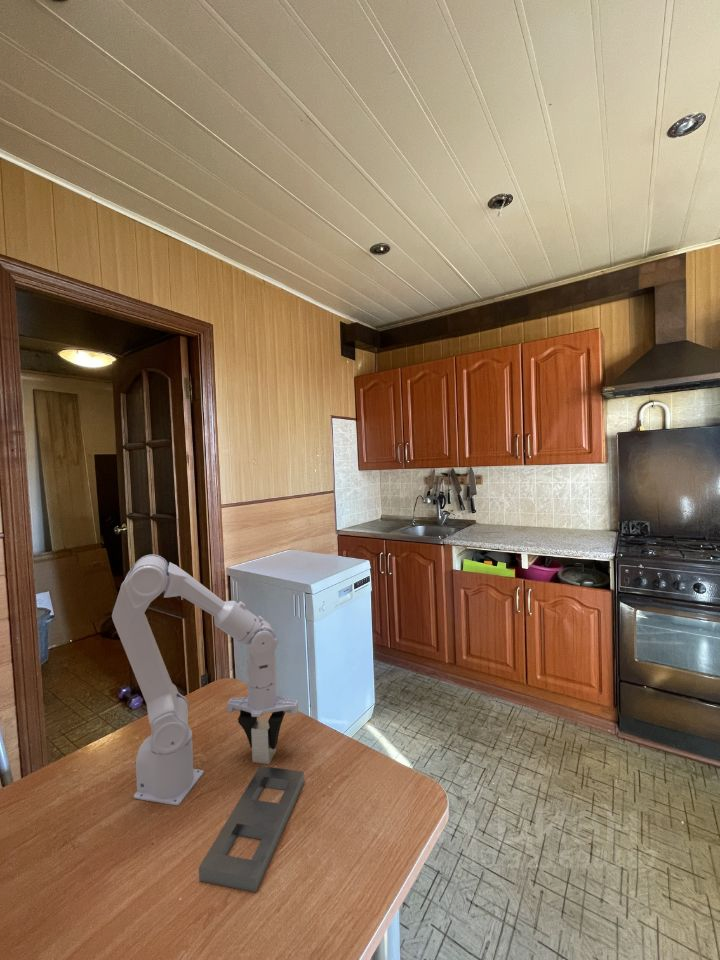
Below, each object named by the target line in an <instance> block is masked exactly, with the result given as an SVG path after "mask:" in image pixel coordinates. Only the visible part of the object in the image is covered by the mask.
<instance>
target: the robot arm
mask: <svg viewBox="0 0 720 960" xmlns="http://www.w3.org/2000/svg"><path fill="white" fill-rule="evenodd" d="M119 587H120V589H119V592H118V595H117V598H116V601H115V604H114V606H113V609H112V614H111V618H112V622H113V624H114V627H115V629H116V632H117V635H118V637H119V638H120V639H119V640H120V642H121V644H122V647H123V650H124V651H125V655H126V657H127V659H128V661H129V665H130V666H131V669H132V672H133V674H134V676H135V679H136V681H137V684H138V686H139V689H140V691H141V693H142V696H143V698H144V701H145V704H146V710H147V717H148V722H149V726H150V728H151V733H150V736H148V737H146V738H145V739H144V740H143V742H142V743H141V745H140V746H139V749H138V751H137V754H136V759H135V774H136V775H135V776H136V792H135V793H134V794H133V799H135V800H141V801H147V802H153V803H158V804H165V805H171V806H179V805H180V804H181V803H182V801H183V800H184V799H185V798H186V797H187V795H188V794H189V793H190V792H191V790H192V789H193V787H195V785H196V784H197V783H198V781H199V779H201V777H202V776H203V774H204V770H202V769H198V768H194V752H193V747H194V746H193V731H192V729H191V728H190V727H189V710H190V709H189V708H190V706H189V701H188V699H187V698H186V697H185V696H184V695H182V694H181V693H180V691H178V688H177V686H176V685H175V684H174V683H173V681H172V680H171V677H170V674H169V672H168V669H167V666H166V664H165V662H164V659H163V656H162V654H161V651H160V649H159V646H158V644H157V641H156V638H155V635H154V634H153V631H152V628H151V626H150V624H149V620H148V619H147V618H148V617H147V615H146V614H145V612H146V610H147V609H148V608H149V606H150V604H151V603H152V602H153V601H154V600H155V599H157V597H159V596H160V595H161V594H162V593H163V592H164V593H163V598H173V597H174V598H175V597H181V598H184V599H185V600H187V601H188V602H190V603H191V604H193V605H195V606H196V607H198V608H200V609H201V610H202V611H205V612H206V613H208V614H210V615H211V616H213V617H214V618H213V621H214V626H215V627H217V628H218V629H220V630H221V631H222V632H224V633H226V634H227V635H228V636H229V637H231V638H233V639H234V640H236V641H237V642H238V643H241V644H244V645H247V648H246V649H247V660H246V676H247V679H246V681H247V696H242V697H231V698H230V699H229V700H228V702H227V703H226V704H227V705H226V707H227V713H234V712H235V711H236V712H238V711H239V716H238V717H237V722H238V724H239V725H240V726H241V728H242V730H243V731H244V733H245V735H246V737H247V740H248V743H249V747H250V749H252V734H251V728H252V727H253V725H254V724H255V723H256V721H257V720H258V718H261V717H262V715H265V714H271V715H270V717H269V718H268V719H269V720H268V723H269V727H270V733H271V749H275V747H276V748H277V745H278V743H279V742H278V740H279V735H280V729H281V726H282V723H283V720H284V718H285V715H286V714H290V715H291V716H296V715H297V713H298V710H299V701H298V700H297V699H295V700H294V699H291V698H286V697H283V696H280V695H277V674H276V673H277V672H276V670H277V669H276V656H275V651H276V649H277V647H278V644H279V640H278V639H277V635H276V632H275V631H274V629H273V627H272V625H271V624H270V623H269V622H268V621H267V620H266V619H265V618H263V617H262V616H261V615H258V616H257V615H255V614H254V613H253V612H251V610H248V609H247V608H246V606H247V605H246V604H245V603H244V602H243V601H238V602H237V601H235V600H227V601H226V600H225V601H224V600H223V599H221V598H220V597H219V596H218V595H216V594H215V593H214V592H212V591H211V590H210V589H208V588H207V587H206V586H204V584H202V583H201V582H199V581H198V580H197V579H195V578H194V577H193V576H192V575H190V573H188V572H187V571H185V570H184V569H182V567H181V568H180V567H179V566H178V565H177V564H174V563H172V562H171V561H169V562H168V561H167V560H166V559H165V558H164V557H162V556H161V555H158V554H147V555H144V556H142V557H140V558H139V559H138V560H137V561H136V562H135V563H134V565H133V566H132V567H131V568H130V570H129V571H128V572H127V573H126V576H125V579H124V581H122V583H121V585H120V586H119Z"/></svg>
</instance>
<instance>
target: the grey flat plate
mask: <svg viewBox="0 0 720 960" xmlns="http://www.w3.org/2000/svg"><path fill="white" fill-rule="evenodd" d="M304 783H305V771H301V770H295V769H287V768H279V767H278V768H277V767H271V766H265V765H264V766H263V765H260V766H259V767H258V769H257V770H256V771H255V773H254V775H253V777H252V779H251V780H250V782H249V784H248V785H247V787H246V789H245V790H244V792H243V793H242V795H241V797H240V799H239V800H238V802H237V803H236V804H235V807H234V809H233V810H232V811H231V813H230V815H229V816H228V818H227V820H226V822H225V823H224V826H223V827H222V828H221V830H220V832H219V833H218V834H217V837H216V838H215V840H214V841H213V843H212V844H211V846H210V848H209V849H208V852H207V853H206V855H205V856H204V859H203V860H202V862H201V863H200V865H199V866H198V881H199V882H203V883H206V884H212V885H218V886H222V887H226V888H227V887H228V888H233V889H236V890H242V891H247V892H251V893H257V892H258V890H259V888H260V885H261V883H262V880H263V878H264V876H265V874H266V871H267V869H268V867H269V864H270V863H271V859H272V858H273V855H274V852H275V850H276V848H277V846H278V844H279V842H280V839H281V837H282V834H283V832H284V830H285V827H286V825H287V823H288V820H289V818H290V816H291V814H292V811H293V809H294V807H295V804H296V803H297V799H298V797H299V795H300V793H301V791H302V788H303V786H304ZM264 788H269V789H276V790H284V791H283V794H281V795H282V796H281V797H280V800H279V802H278V803H277V802H271V801H270V802H269V801H264V800H258V799H259V797H260V795H261V794H262V792H263V790H264ZM239 836H240V837H245V838H249V839H250V838H251V839H257V840H260V841H259V843H258V845H257V847H256V850H255V852H254V854H253V856H252V858H251V859H249V858H242V857H238V856H232V855H228V853H229V851H230V850H231V848H232V846H233V845H234V843H235V841H236V840H237V837H239Z"/></svg>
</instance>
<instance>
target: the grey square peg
mask: <svg viewBox="0 0 720 960" xmlns="http://www.w3.org/2000/svg"><path fill="white" fill-rule="evenodd" d="M268 720H269V718H268V717H257V721H256V723H255V724H254V725H253V727H252V728H251V734H252V748H251V755H252V756H251V757H252V762H253V763H258V764H265V765H269V764H270V763H271V762H272V760H273V759H274V756H275V754H276V752H277V746H276V747H275V749H271V733H270V727H269V723H268Z"/></svg>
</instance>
